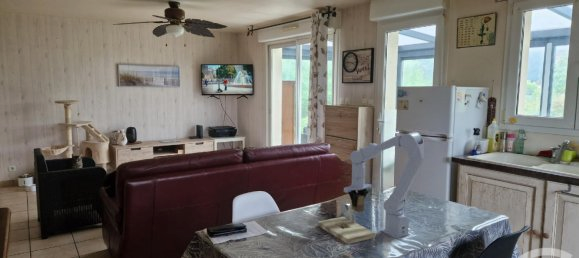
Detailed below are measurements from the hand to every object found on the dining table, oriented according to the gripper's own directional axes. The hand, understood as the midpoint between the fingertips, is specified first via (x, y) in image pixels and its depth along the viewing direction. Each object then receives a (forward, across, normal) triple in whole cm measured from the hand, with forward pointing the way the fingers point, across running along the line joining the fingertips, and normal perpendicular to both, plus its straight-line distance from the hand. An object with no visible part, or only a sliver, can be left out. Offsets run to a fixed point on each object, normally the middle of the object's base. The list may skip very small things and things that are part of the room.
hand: (357, 205), depth 170 cm
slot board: (+8, +11, +6) cm, 15 cm away
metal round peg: (+8, +1, -8) cm, 11 cm away
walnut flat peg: (+2, 0, 0) cm, 2 cm away
